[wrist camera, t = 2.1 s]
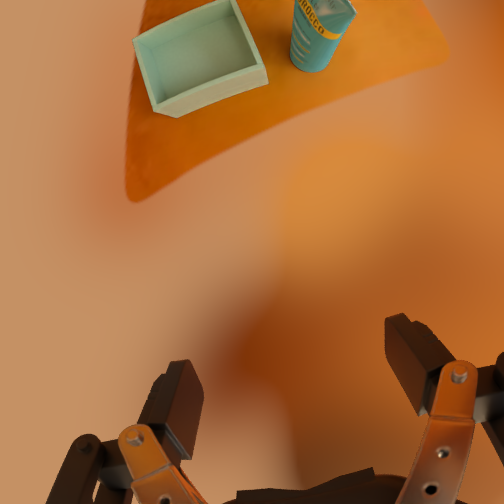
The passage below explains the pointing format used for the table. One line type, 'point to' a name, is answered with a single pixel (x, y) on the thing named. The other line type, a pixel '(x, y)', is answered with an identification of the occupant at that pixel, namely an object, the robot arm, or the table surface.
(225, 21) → the open pale green box
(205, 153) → the table surface
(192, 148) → the table surface
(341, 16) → the tube
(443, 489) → the robot arm
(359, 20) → the table surface
